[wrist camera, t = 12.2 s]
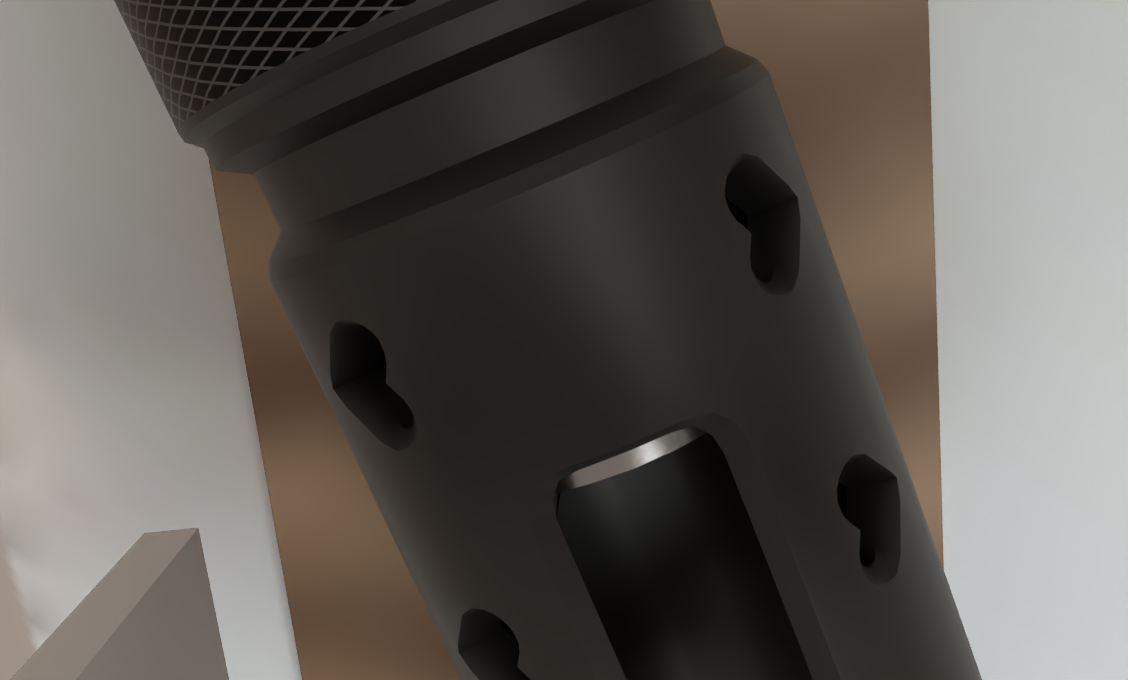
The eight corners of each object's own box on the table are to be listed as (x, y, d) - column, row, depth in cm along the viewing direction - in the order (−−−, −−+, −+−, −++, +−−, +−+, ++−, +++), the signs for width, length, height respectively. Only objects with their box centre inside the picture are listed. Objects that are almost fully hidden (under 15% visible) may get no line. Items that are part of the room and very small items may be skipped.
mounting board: (123, -417, 22) (28, -535, 18) (893, -500, 22) (975, -637, 18) (376, 1020, 30) (351, 1166, 26) (938, 958, 30) (1002, 1094, 26)
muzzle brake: (637, 928, 28) (709, 1391, 18) (147, -130, 22) (-164, -330, 12) (977, 797, 28) (1245, 1195, 18) (574, -314, 22) (629, -684, 11)
